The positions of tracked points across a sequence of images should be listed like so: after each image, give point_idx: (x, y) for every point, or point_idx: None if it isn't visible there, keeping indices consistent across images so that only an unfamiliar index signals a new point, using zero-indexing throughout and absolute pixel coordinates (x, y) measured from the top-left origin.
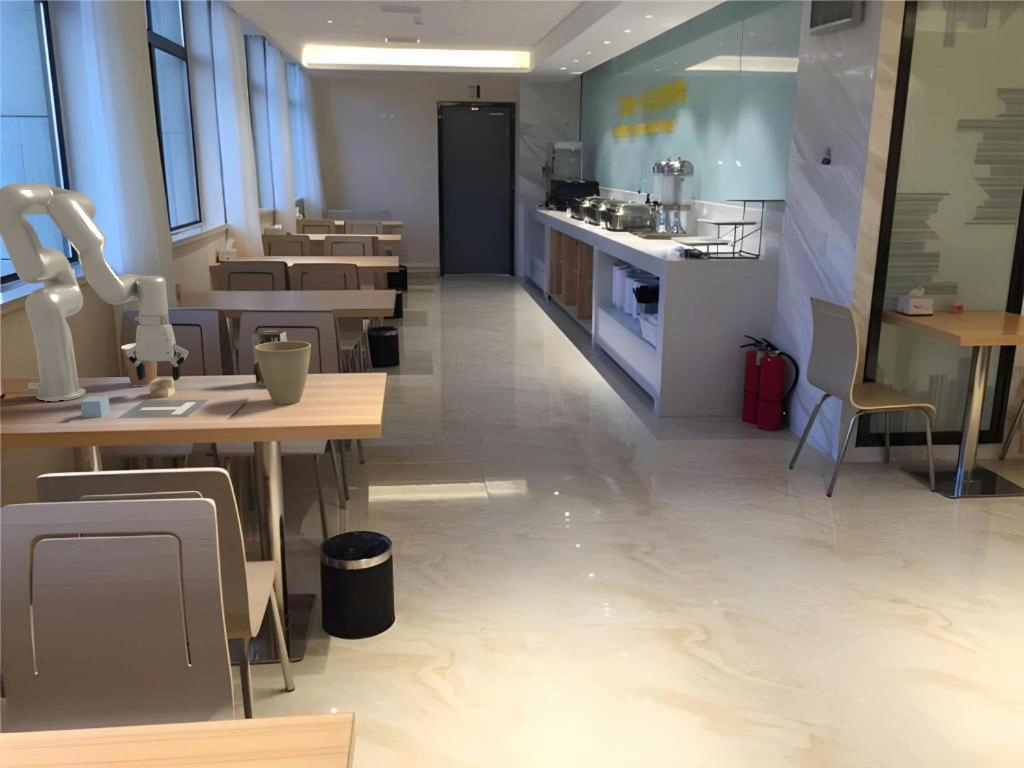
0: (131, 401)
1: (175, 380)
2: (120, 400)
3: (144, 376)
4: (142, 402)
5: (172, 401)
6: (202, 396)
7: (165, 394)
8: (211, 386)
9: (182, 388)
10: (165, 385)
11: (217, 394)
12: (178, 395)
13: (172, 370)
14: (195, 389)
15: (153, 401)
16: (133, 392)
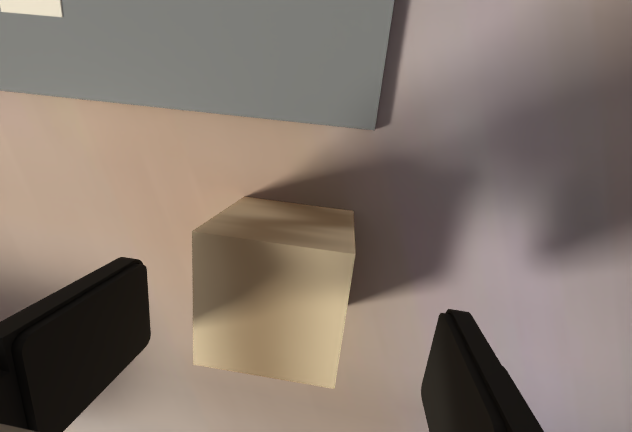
0: (472, 177)
1: (126, 259)
2: (552, 218)
3: (427, 387)
4: (375, 65)
5: (169, 63)
6: (73, 222)
7: (252, 207)
8: (116, 410)
9: (245, 407)
10: (219, 223)
11: (13, 251)
12: None
13: (56, 314)
14: (171, 374)
15: (303, 86)
16: None
